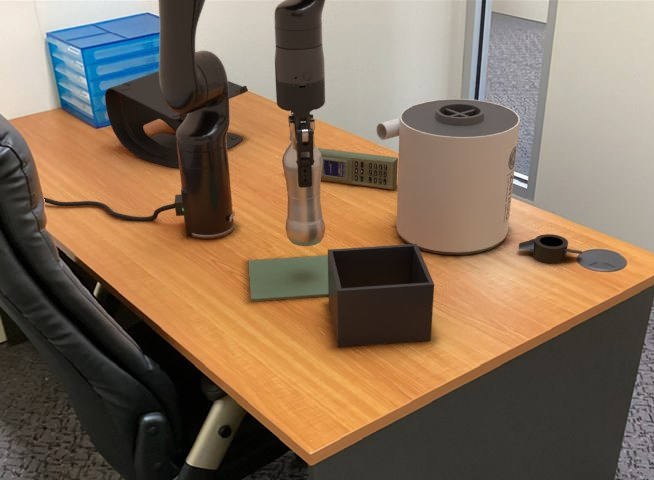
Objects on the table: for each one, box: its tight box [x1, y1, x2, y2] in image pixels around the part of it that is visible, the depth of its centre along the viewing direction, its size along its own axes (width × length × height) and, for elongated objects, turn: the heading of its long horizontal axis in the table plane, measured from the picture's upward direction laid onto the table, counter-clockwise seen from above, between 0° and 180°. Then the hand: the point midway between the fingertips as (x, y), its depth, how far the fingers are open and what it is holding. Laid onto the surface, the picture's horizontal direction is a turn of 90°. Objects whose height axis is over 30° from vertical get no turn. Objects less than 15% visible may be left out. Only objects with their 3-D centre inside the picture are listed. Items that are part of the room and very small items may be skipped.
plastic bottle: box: [281, 131, 326, 247], centre depth 139 cm, size 6×7×20 cm
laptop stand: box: [104, 70, 249, 169], centre depth 201 cm, size 26×24×16 cm
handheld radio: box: [317, 147, 399, 191], centre depth 182 cm, size 7×3×25 cm
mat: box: [247, 254, 328, 302], centre depth 148 cm, size 20×14×1 cm
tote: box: [327, 243, 435, 348], centre depth 133 cm, size 14×13×10 cm
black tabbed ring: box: [518, 233, 583, 265], centre depth 152 cm, size 8×10×3 cm
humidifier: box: [375, 98, 521, 256], centre depth 155 cm, size 22×21×23 cm
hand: (303, 177), depth 138 cm, fingers closed on plastic bottle, 6 cm apart
